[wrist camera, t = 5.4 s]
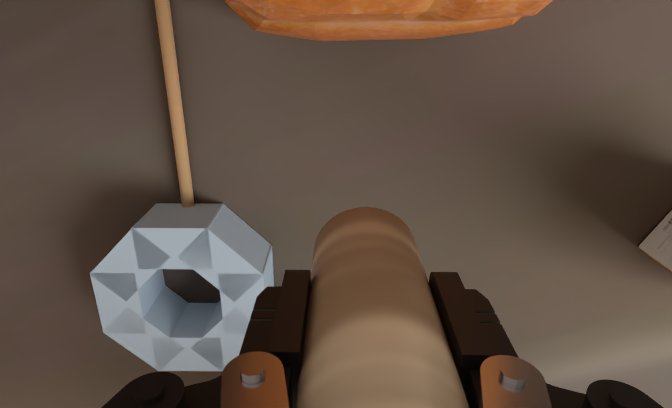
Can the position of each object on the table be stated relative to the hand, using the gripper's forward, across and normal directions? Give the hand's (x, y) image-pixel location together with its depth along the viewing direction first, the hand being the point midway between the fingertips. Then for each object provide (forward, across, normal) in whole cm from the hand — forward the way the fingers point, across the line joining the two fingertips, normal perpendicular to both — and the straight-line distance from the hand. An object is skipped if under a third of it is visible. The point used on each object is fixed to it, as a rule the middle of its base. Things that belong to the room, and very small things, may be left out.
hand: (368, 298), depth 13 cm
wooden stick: (+17, +11, -4) cm, 21 cm away
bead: (+17, +11, +9) cm, 22 cm away
